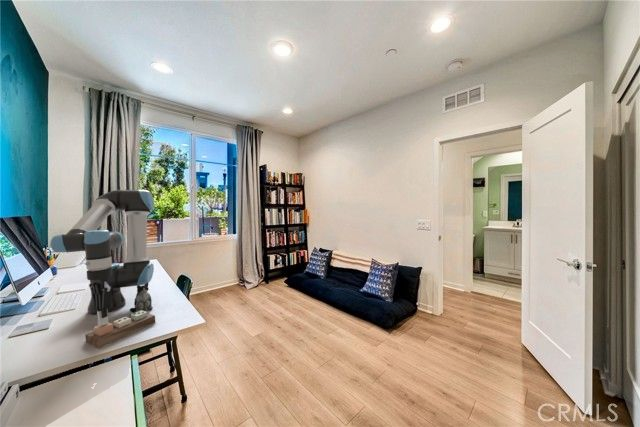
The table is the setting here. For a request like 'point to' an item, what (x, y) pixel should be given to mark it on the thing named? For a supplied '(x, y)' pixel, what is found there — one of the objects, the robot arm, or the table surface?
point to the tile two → (122, 322)
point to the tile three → (138, 315)
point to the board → (119, 332)
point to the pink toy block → (103, 329)
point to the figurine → (142, 299)
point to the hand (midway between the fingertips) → (103, 324)
